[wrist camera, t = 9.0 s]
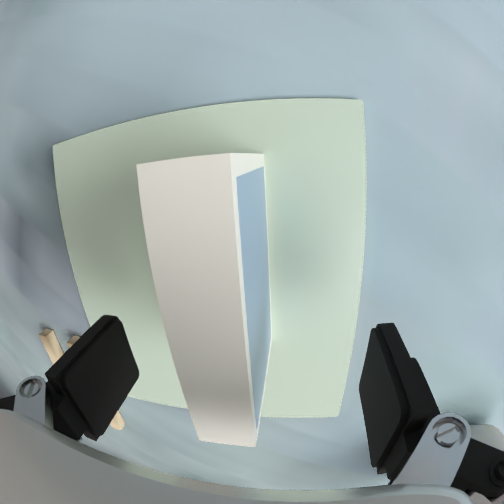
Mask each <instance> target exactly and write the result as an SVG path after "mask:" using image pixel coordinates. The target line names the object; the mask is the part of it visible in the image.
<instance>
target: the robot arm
mask: <svg viewBox="0 0 504 504" xmlns="http://www.w3.org/2000/svg"><path fill="white" fill-rule="evenodd" d="M45 375H46V377H47V379H48V382H47V383H46V382H45V380H44V379H43V378H42V377H40V376H31V377H28V378H26V379H24V380H23V381H22V382H21V383H20V384H19V385H18V387H17V390H16V395H14V396H10V397H6V398H2V399H0V504H504V451H502V450H500V449H497V448H495V447H492V446H490V445H487V444H485V443H482V442H480V441H478V440H475V439H473V438H471V428H470V425H469V423H468V422H467V421H466V420H465V419H464V418H463V417H462V416H460V415H458V414H454V413H443V414H440V412H439V409H438V407H437V404H436V402H435V400H434V397H433V395H432V392H431V390H430V388H429V386H428V383H427V381H426V379H425V377H424V374H423V372H422V370H421V368H420V366H419V363H418V361H417V360H416V359H415V358H410V356H409V353H408V351H407V349H406V347H405V345H404V343H403V341H402V339H401V336H400V334H399V332H398V330H397V328H396V326H395V324H394V323H383V324H377V326H376V328H372V330H371V333H370V338H369V344H368V348H367V353H366V358H365V362H364V367H363V371H362V375H361V379H360V384H359V393H360V398H361V403H362V409H363V414H364V420H365V426H366V432H367V438H368V445H369V452H370V459H371V465H372V467H377V473H378V474H383V473H387V478H388V479H389V480H390V482H389V483H388V484H387V485H382V486H372V487H360V488H349V489H335V490H270V489H256V488H245V487H236V486H229V485H222V484H215V483H209V482H204V481H198V480H193V479H189V478H184V477H180V476H175V475H171V474H167V473H164V472H160V471H156V470H153V469H149V468H146V467H143V466H140V465H136V464H133V463H130V462H127V461H125V460H122V459H119V458H116V457H114V456H111V455H108V454H106V453H103V452H101V451H98V450H96V449H94V448H91V447H89V446H87V445H84V444H83V442H82V437H81V436H82V435H83V433H84V435H85V436H86V437H87V438H90V439H92V440H95V441H97V439H98V438H99V436H101V435H103V434H104V432H105V431H106V429H107V427H108V426H109V424H110V423H111V421H112V419H113V418H114V416H115V415H116V413H117V411H118V410H119V408H120V407H121V405H122V403H123V402H124V400H125V399H126V397H127V395H128V394H129V392H130V391H131V389H132V388H133V386H134V384H135V383H136V381H137V380H138V378H139V369H138V366H137V364H136V361H135V358H134V356H133V353H132V350H131V347H130V344H129V342H128V339H127V336H126V333H125V330H124V326H123V323H122V322H121V320H119V318H118V317H117V316H112V315H103V316H101V317H100V318H99V319H98V320H97V321H96V322H95V323H94V324H93V325H92V326H91V327H90V328H89V329H88V330H87V331H86V332H85V333H84V334H83V335H82V336H81V337H80V338H79V339H78V340H77V341H76V342H75V343H74V344H73V345H72V346H71V347H70V348H69V349H68V350H67V351H66V352H65V353H64V354H63V355H62V356H61V357H60V358H59V359H58V360H57V361H56V362H55V363H54V365H53V366H52V367H51V368H50V369H49V370H48V371H47V372H46V373H45Z"/></svg>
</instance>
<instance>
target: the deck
mask: <svg viewBox="0 0 504 504" xmlns="http://www.w3.org/2000/svg"><path fill="white" fill-rule="evenodd" d="M136 166H137V176H138V185H139V194H140V202H141V210H142V217H143V224H144V230H145V236H146V243H147V248H148V254H149V260H150V265H151V270H152V275H153V280H154V285H155V290H156V294H157V299H158V303H159V308H160V312H161V316H162V320H163V324H164V328H165V332H166V336H167V340H168V344H169V347H170V351H171V355H172V358H173V362H174V365H175V369H176V372H177V375H178V379H179V382H180V385H181V388H182V391H183V394H184V397H185V401H186V403H187V406H188V409H189V412H190V415H191V418H192V421H193V424H194V426H195V429H196V432H197V434H198V437H199V440H201V441H207V442H214V443H221V444H229V445H239V446H250V447H256V442H257V436H258V430H259V424H260V417H261V411H262V405H263V398H264V392H265V385H266V378H267V372H268V365H269V358H270V350H271V343H272V326H271V296H270V270H269V245H268V223H267V203H266V183H265V165H264V154H255V153H223V154H212V155H202V156H193V157H185V158H177V159H169V160H162V161H155V162H149V163H143V164H137V165H136Z"/></svg>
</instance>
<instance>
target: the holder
mask: <svg viewBox="0 0 504 504" xmlns="http://www.w3.org/2000/svg"><path fill="white" fill-rule="evenodd" d="M39 336H40V338H41V340H42V342H43V345H44V347H45V349H46V351H47V353H48V355H49V357H50V359H51V361H52V363H53V365H54V363H55V362H56V361H57V360H58V359H59V358H60V357H61V356H62V355H63V354H64V353H63V351H62V349H61V347H60V345H59V342H58V340H57V338H56V335H55V333H54V331H53V330H50V329H47V328H46V329H45V330H44V331H43V332H41V333H40V334H39ZM79 338H80V337H79V336H75V335H74V336H73V337H72V338H71V339H70V340H69V341H68V342H67V344H68V347H69V348H70V347H71V346H72V345H73V344H74V343H75V342H76V341H77V340H78V339H79ZM110 424H111V426H112V428H115V429H118V430H122V428H123V427H124V425H125V421H124V420H123V418H122V416H121V414H120V413H119V411H117V413H116V415H115V416H114V418H113V419H112V421H111V423H110Z"/></svg>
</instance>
